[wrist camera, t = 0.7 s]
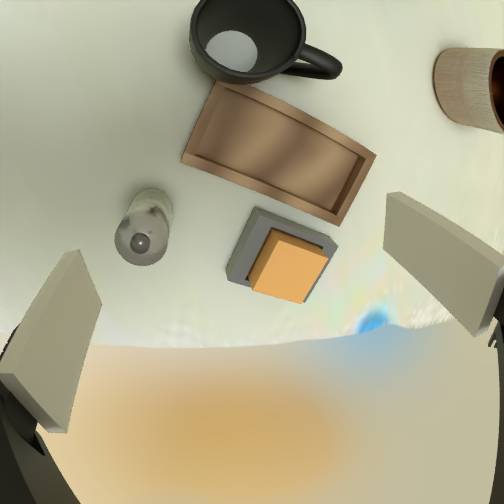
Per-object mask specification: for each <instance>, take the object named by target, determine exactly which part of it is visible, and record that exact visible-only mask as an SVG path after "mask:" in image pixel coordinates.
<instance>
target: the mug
mask: <svg viewBox="0 0 504 504" xmlns="http://www.w3.org/2000/svg"><path fill="white" fill-rule="evenodd" d="M229 30H232V31H239V32H242V33H244V34H246V35H248V36H249V37H250V38H251V39H252V40H253V41H254V43H255V45H256V47H257V52H258V56H257V61H256V63H255V65H254V67H253V68H252V69H251V70H250V71H249V72H247V73H246V72H239V71H235V70H232V69H229V68H227V67H225V66H223V65H221V64H219V63H218V62H216V61H215V60H214V59H212V58H211V57H210V56H209V55H208V53H207V52H206V51H205V49H206V46H207V44H208V42H209V41H210V40H211V39H212V38H213V37H214V36H215V35H217V34H218V33H221V32H223V31H229ZM189 41H190V46H191V51H192V53H193V56H194V58H195V60H196V62H197V63H198V65H199V66H200V67H201V68H202V69H203V71H205V72H206V73H207V74H208V75H210V76H211V77H213V78H215V79H217V80H219V81H221V82H225V83H229V84H239V85H245V84H252V83H258V82H261V81H263V80H266V79H269V78H271V77H273V76H275V75H277V74H279V73H280V74H286V75H293V76H300V77H307V78H314V79H324V80H332V79H336V78H337V77H338V76H339V75H340V73H341V72H342V68H343V67H342V63H341V62H340V61H339V60H337V59H336V58H335V57H333V56H331V55H330V54H328V53H326V52H324V51H322V50H320V49H317V48H315V47H313V46H310V45H307V44H305V41H306V26H305V21H304V18H303V15H302V13H301V11H300V9H299V8H298V6H297V5H296V4H295V3H294V2H293V0H200V2H199V3H198V4H197V6H196V7H195V9H194V12H193V14H192V17H191V23H190V36H189ZM297 59H301V60H303V61H306V62H308V63H311V64H308V63H299V62H295V61H296V60H297Z"/></svg>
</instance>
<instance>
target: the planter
mask: <svg viewBox="0 0 504 504" xmlns="http://www.w3.org/2000/svg"><path fill="white" fill-rule="evenodd" d="M434 83H435V89H436V94H437V97H438V100H439V102H440V104H441V106H442V108H443V110H444V111H445V113H446V114H447V115H448V116H449V117H450V118H451V119H452V120H453V121H455V122H457V123H460V124H463V125H467V126H472V127H476V128H481V129H485V130H489V131H493V132H496V133H500V134H503V135H504V49H492V48H451V49H447V50H445V51H444V52H442V53H441V55H440V56H439V58H438V60H437V62H436V66H435V72H434Z"/></svg>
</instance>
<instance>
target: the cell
mask: <svg viewBox="0 0 504 504" xmlns="http://www.w3.org/2000/svg"><path fill="white" fill-rule="evenodd" d="M172 214H173V205H172V201H171V199H170V198H169V196H168V195H167V194H166V193H164V192H163V191H161V190H158V189H146V190H143V191H141V192H140V193H139V194H138V195H137V196H136V197H135V198H134V200H133V202H132V204H131V205H130V207H129V209H128V210H127V212H126V214H125V216H124V218H123V219H122V221H121V223H120V225H119V226H118V228H117V230H116V233H115V245H116V248H117V251H118V252H119V254H120V255H121V256H122V258H124V259H125V260H126V261H128V262H129V263H131V264H134V265H139V266H147V265H151V264H154V263H156V262H157V261H159V260H160V259H161V258H162V257H163V255H164V254H165V252H166V249H167V244H168V238H169V231H170V225H171V219H172Z"/></svg>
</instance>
